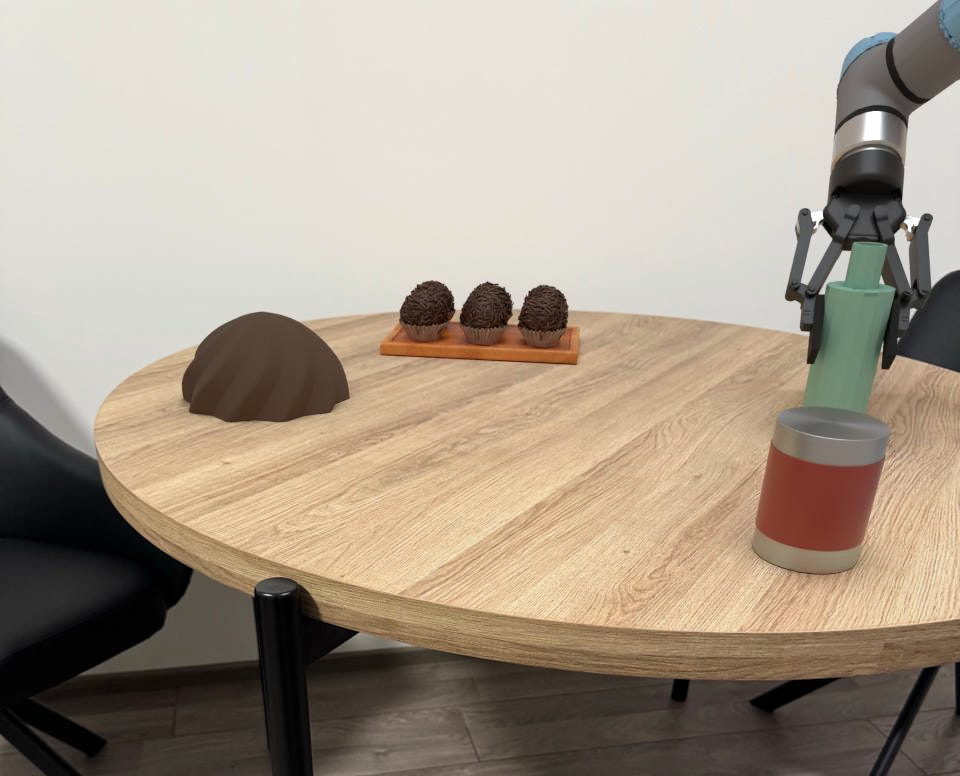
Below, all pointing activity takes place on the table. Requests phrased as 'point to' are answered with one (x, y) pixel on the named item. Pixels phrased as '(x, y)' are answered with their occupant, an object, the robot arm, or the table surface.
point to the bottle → (851, 333)
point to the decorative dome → (263, 371)
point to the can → (819, 488)
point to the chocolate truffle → (484, 326)
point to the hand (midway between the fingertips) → (850, 359)
